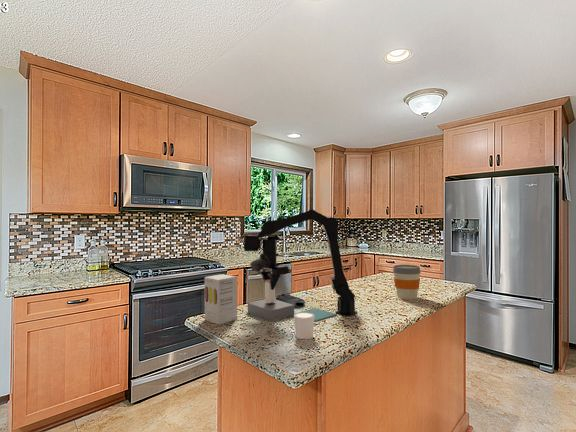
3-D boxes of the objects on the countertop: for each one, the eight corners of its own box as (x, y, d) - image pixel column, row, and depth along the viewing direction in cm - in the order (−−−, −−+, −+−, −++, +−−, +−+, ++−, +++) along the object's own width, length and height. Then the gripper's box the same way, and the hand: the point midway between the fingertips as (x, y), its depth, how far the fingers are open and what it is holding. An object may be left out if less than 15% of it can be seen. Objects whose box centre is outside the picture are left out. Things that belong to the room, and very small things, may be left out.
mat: (336, 315, 127) (336, 314, 127) (315, 321, 120) (315, 320, 120) (315, 309, 136) (315, 308, 136) (294, 314, 129) (294, 313, 129)
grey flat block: (294, 314, 129) (294, 304, 129) (270, 321, 121) (270, 310, 121) (270, 306, 141) (270, 297, 141) (247, 312, 133) (247, 302, 133)
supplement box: (203, 320, 124) (203, 276, 124) (222, 314, 131) (222, 273, 131) (218, 325, 118) (218, 279, 118) (238, 319, 124) (237, 276, 125)
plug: (275, 301, 131) (274, 279, 131) (269, 303, 129) (269, 280, 129) (270, 300, 133) (270, 279, 133) (265, 301, 131) (264, 279, 131)
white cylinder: (293, 332, 108) (292, 312, 108) (313, 332, 109) (312, 311, 109) (295, 340, 101) (294, 318, 101) (316, 339, 102) (316, 317, 102)
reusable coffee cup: (423, 296, 156) (422, 265, 157) (418, 301, 146) (417, 269, 146) (397, 293, 163) (396, 264, 163) (390, 298, 152) (389, 267, 153)
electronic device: (274, 305, 149) (292, 308, 137) (274, 293, 151) (292, 295, 138) (290, 305, 154) (309, 307, 142) (290, 293, 156) (309, 294, 143)
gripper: (240, 251, 133) (241, 288, 133) (267, 254, 119) (267, 296, 119) (262, 249, 140) (262, 284, 140) (289, 252, 126) (290, 291, 126)
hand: (270, 289), depth 131 cm, fingers closed on plug, 3 cm apart
